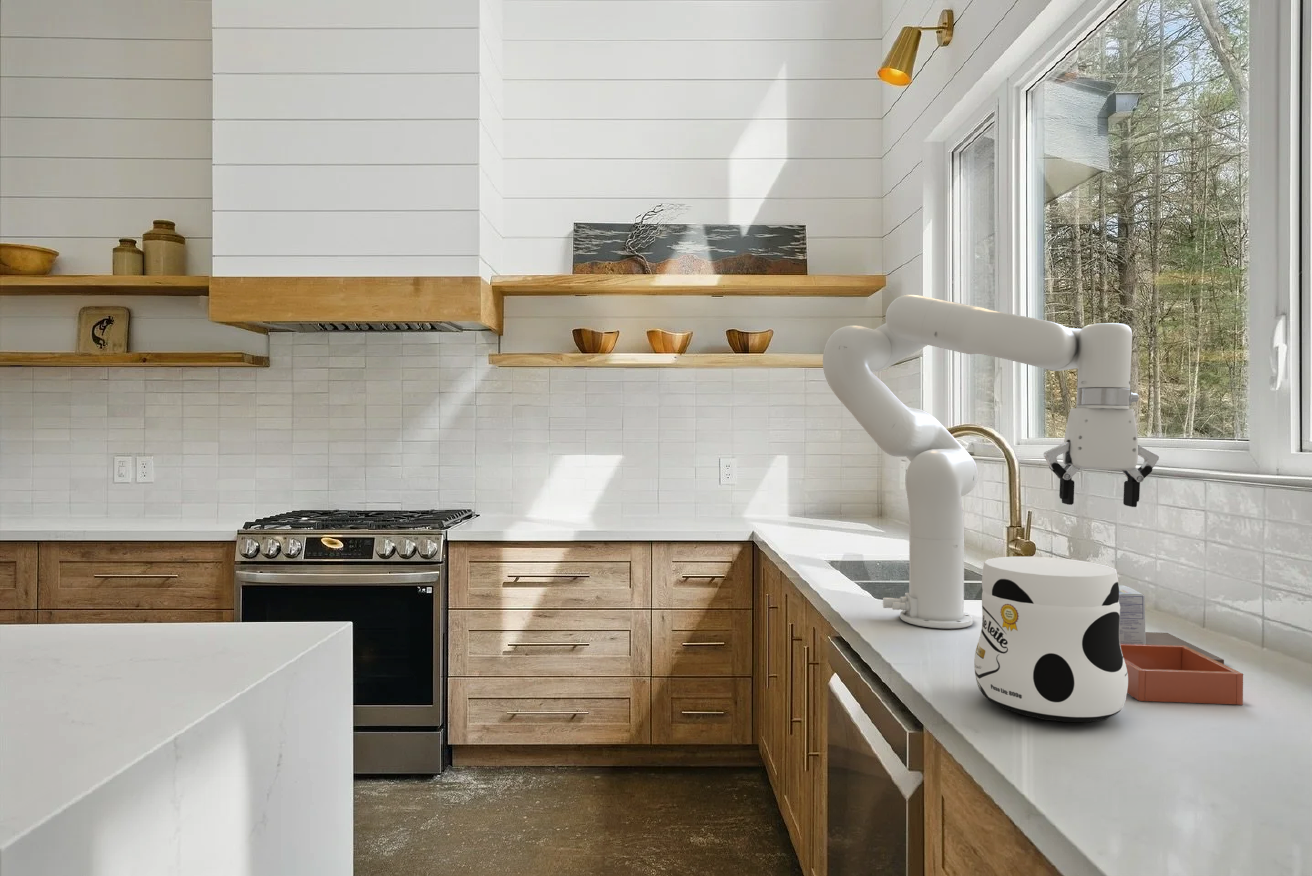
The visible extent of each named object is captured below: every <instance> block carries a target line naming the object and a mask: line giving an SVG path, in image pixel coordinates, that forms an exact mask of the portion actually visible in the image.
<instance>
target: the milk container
mask: <svg viewBox="0 0 1312 876" xmlns="http://www.w3.org/2000/svg"><path fill="white" fill-rule="evenodd" d="M981 573H982V574H981V589H982V593H981V614H982V615H981V616H982V618H981V619H982V620H981V621H982V622H981V631H980V634H979V638H978V642H977V645H976V648H975V652H974V658H973V659H974V660H973V664H974V665H973V667H974V675H975V681H976V685H977V687H978V690H979V691H980V693H981V694H982V695H983V697H985V698H986V699H987V700H988V701H990V702H991V703H993V704H995V705H997V706H998V707H1000V708H1002V709H1005V710H1007V711H1010V712H1013V713H1016V714H1019V715H1023V716H1026V717H1032V718H1036V719H1040V720H1044V721H1045V720H1046V721H1056V722H1063V723H1076V722H1077V723H1090V722H1097V721H1102V720H1103V721H1104V720H1108V719H1109V718H1111V717H1113V716H1116V715H1117V714H1118V713H1120V712H1121V710H1122V709H1123V708H1124V706H1125V703H1126V699H1127V696H1128V693H1127V689H1128V672H1127V668H1126V664H1125V661H1124V657H1123V654H1122V650H1121V646H1120V638H1119V625H1120V604H1119V585H1120V584H1119V575H1118V570H1117V568H1115V567H1113V566H1110V565H1107V564H1101V563H1098V562H1094V561H1086V560H1079V559H1071V558H1062V557H1052V556H1051V557H1049V556H1030V555H1029V556H1023V555H1022V556H1020V555H1019V556H998V557H997V556H996V557H993V558H987V559H986V560H985V561H984V563H983V565H982V572H981Z"/></svg>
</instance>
